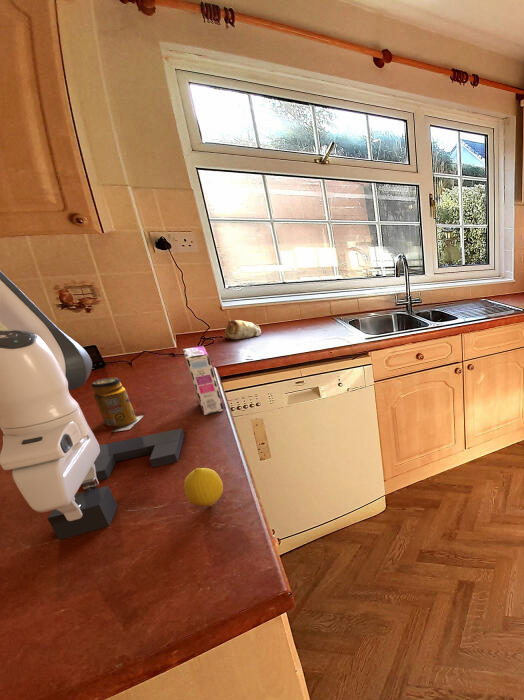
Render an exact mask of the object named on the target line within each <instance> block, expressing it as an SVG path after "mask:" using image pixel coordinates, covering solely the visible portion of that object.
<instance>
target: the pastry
mask: <svg viewBox="0 0 524 700" xmlns="http://www.w3.org/2000/svg"><path fill="white" fill-rule="evenodd" d="M224 334H225V335H224V338H225V339H227V340H228V339H229V340H243V339H249V338H254V337H260V335H261V334H262V330H261V327H260V325H256V324H255V323H253V322H252V321H251V322H250V321H245V320H241V319H237V320H236V319H233V320H229V321H228V322H227V325H226V326H225V329H224Z"/></svg>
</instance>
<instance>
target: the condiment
mask: <svg viewBox="0 0 524 700" xmlns="http://www.w3.org/2000/svg"><path fill="white" fill-rule="evenodd" d="M91 387H92V390H93V398H94V400H95V402H96V405H97V407H98V410H99V413H100V415H101V417H102V420H103V422H104V425H106V426H107V427H114V428H112V430H111V433H117V432H121V431H128V430H131V429H132V428H133V427H134V426H135V425H136V424H137V423H138V422H139V421H140V420H141V419H142V418H144V415H136V413H135V411H134V408H133V406H132V403H131V401H130V398H129V395H128V391H127V390H126V388H125V387H124V386H123V384H122V383H121V380H120V378H119V377H107V378H106V377H105V378H102V379H98V380H95V381H93V382H92V383H91Z"/></svg>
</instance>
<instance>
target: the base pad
mask: <svg viewBox="0 0 524 700" xmlns="http://www.w3.org/2000/svg"><path fill="white" fill-rule="evenodd" d="M184 438H185V433H184V429H183V427H182V428H181V427H180V428H176V429H172V430H167V431H162V432H156V433H153V434H148V435H143V436H139V437H133V438H128V439H124V440H119V441H114V442H110V443H104V444H99V447H100V453H99V455H98V457H97V458H96V460H95V462H94V465H95V470H96V477H97V480H98V482H99V481H103V480H106V479H109V478H110V475H111V474H112V471H113V469H114V467H115V466H116V464H117V463H118V462H122V461H127V460H131V459H135V458H139V457H144V456H148V455H150V457H149V462H150V465H151V467H152V468H157V467H161V466H166V465H169V464H174V463H177V462H178V461H179V459H180V454H181V450H182V446H183V443H184Z"/></svg>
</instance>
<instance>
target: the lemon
mask: <svg viewBox="0 0 524 700" xmlns="http://www.w3.org/2000/svg"><path fill="white" fill-rule="evenodd" d="M183 488H184V494H185V497H186V499H187V500H188V501H189V502H190V503H191V504H193V505H195V506H199V507H205V506H206V507H211V506H213V504H214V503H216V502H217V501H218V500H219V499H220V498H221V497H222V495H223V492H224V483H223V481H222V479H221V476H220V475H219V474H218V472H216V471H215V470H214V469H212V468H208V467H196V468H195V469H194V470H192V471H191V472H190V473H189V474H188V475H187V476H186V478H185V480H184V483H183Z"/></svg>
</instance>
